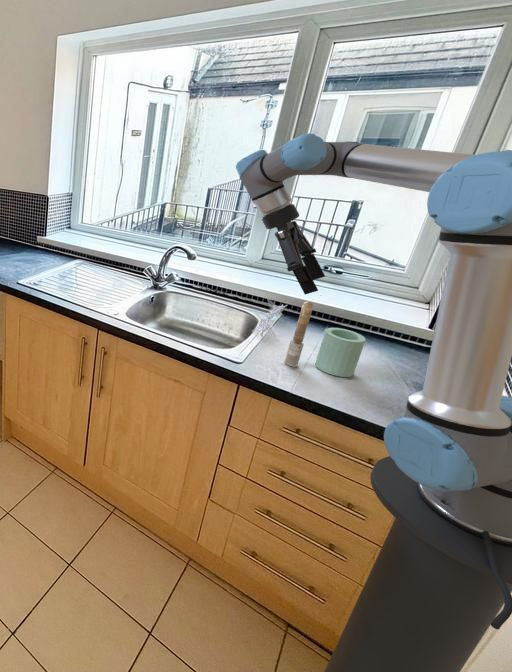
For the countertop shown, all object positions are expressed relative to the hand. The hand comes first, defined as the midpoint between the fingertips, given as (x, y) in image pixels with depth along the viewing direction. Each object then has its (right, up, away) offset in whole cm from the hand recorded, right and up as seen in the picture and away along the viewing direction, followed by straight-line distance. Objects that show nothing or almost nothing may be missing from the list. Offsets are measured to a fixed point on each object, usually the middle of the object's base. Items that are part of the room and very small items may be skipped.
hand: (315, 285), depth 105 cm
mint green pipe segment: (+17, -24, +16) cm, 34 cm away
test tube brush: (+15, -15, +41) cm, 46 cm away
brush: (+7, -23, +18) cm, 30 cm away
